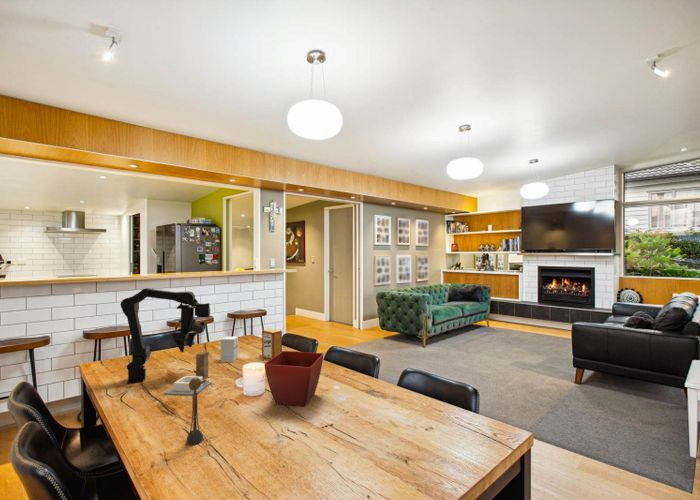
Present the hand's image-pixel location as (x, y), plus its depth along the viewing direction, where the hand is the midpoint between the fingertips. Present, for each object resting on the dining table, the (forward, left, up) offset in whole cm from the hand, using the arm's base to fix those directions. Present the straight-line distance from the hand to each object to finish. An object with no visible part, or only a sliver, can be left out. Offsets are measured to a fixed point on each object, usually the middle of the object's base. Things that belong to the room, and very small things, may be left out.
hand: (186, 349), depth 170 cm
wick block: (+8, -6, -13) cm, 16 cm away
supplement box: (+21, +20, -13) cm, 31 cm away
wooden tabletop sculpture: (+9, -66, -13) cm, 68 cm away
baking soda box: (+44, +16, -13) cm, 48 cm away
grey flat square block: (+3, -18, -13) cm, 22 cm away
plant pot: (+45, -46, -13) cm, 65 cm away
